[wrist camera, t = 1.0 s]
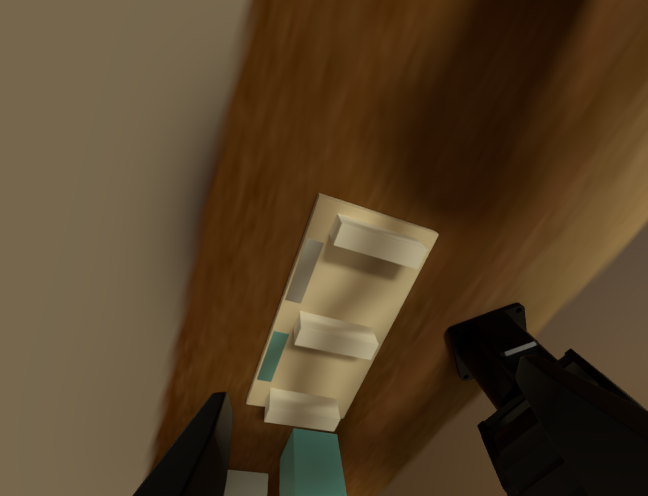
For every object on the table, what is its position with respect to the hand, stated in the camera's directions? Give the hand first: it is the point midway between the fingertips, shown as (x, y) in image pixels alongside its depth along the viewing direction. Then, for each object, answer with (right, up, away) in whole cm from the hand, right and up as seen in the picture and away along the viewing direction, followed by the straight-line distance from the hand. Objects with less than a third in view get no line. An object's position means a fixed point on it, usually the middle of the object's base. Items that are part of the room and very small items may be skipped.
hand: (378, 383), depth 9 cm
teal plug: (-3, -16, +21) cm, 27 cm away
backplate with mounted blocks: (-1, -2, +15) cm, 16 cm away
